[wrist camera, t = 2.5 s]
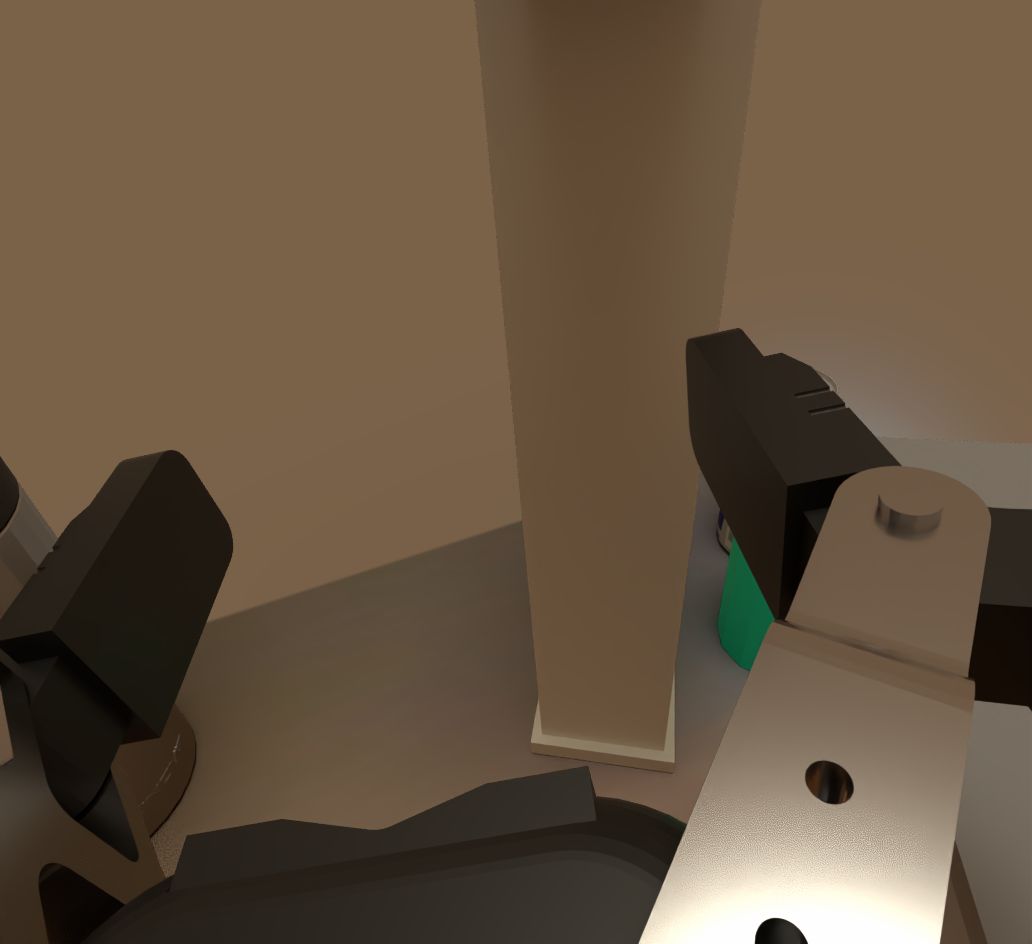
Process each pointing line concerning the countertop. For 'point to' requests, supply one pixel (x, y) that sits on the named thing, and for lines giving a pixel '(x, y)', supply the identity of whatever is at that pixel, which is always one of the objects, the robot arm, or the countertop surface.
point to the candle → (742, 612)
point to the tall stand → (610, 330)
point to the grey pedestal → (988, 735)
